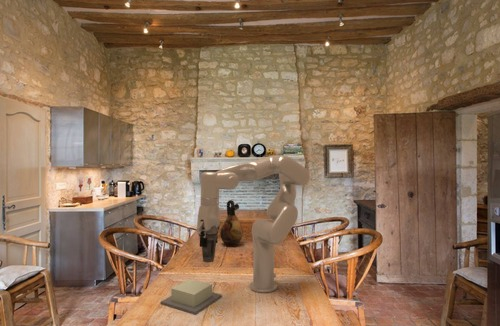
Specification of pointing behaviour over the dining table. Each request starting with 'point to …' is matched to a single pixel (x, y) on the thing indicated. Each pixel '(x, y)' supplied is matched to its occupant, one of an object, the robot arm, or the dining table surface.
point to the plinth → (191, 309)
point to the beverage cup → (210, 245)
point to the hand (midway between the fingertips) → (208, 244)
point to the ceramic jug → (231, 227)
